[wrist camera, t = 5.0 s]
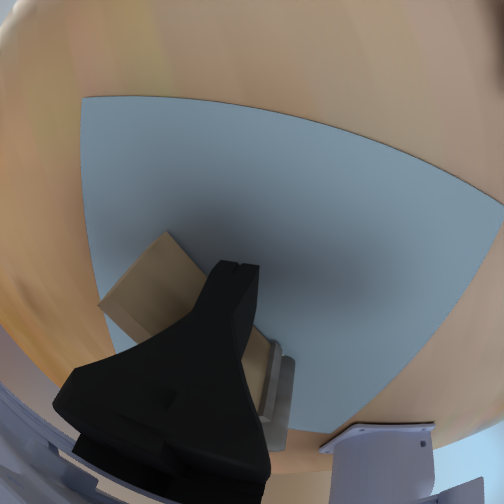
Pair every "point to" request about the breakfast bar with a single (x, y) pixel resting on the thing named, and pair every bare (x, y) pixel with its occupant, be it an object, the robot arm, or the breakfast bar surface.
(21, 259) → the breakfast bar surface
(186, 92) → the breakfast bar surface
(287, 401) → the fence fixed
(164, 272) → the fence gate
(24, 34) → the breakfast bar surface
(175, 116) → the board
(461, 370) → the breakfast bar surface
